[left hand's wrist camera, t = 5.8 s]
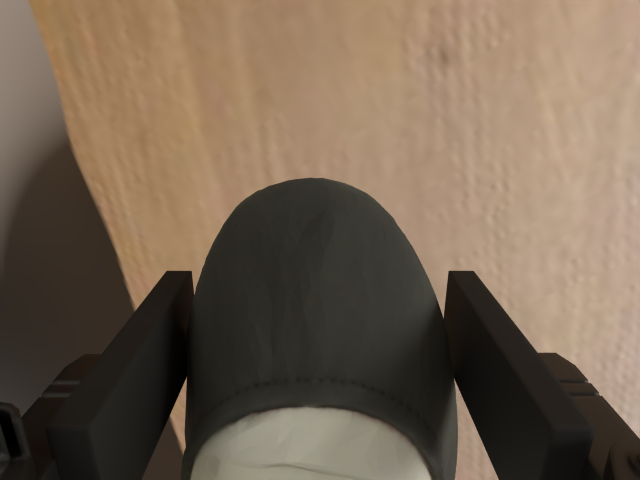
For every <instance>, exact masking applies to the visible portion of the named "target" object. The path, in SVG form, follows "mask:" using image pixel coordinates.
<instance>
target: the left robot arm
mask: <svg viewBox="0 0 640 480" xmlns="http://www.w3.org/2000/svg"><path fill="white" fill-rule="evenodd" d="M193 297H194V289H193V280H192V271H166V273H165V274H164V275H163V276H162V278H161V279H160V280H159V282H158V283H157V284H156V285H155V287H154V288H153V289H152V291H151V292H150V293H149V294H148V296H147V297H146V298H145V300H144V301H143V302H142V303H141V305H140V306H139V307H138V308H137V310H136V311H135V312H134V314H133V315H132V316H131V317H130V319H129V320H128V321H127V323H126V324H125V325H124V326H123V328H122V329H121V330H120V332H119V333H118V334H117V335H116V337H115V338H114V339H113V341H112V342H111V343H110V344H109V346H108V347H107V348H106V349H105V351H104V352H103V353H102V354H85V355H83V356H82V357H80V358H79V359H77V360H75V361H74V362H72V363H71V364H69V365H68V366H66V367H65V368H64V369H63V370H62V372H61V373H60V374H59V375H58V376H57V377H56V378H55V380H54V381H53V384H52V385H49V386H48V388H47V389H46V390H45V391H44V392H43V393H42V397H39V398H38V399H37V400H36V401H35V403H34V404H33V405H32V406H31V407H30V408H29V409H28V411H27V412H26V413H25V414H24V415H23V416H22V417H21V415H20V411H19V409H18V408H17V407H15V406H14V405H13V404H10V403H3V402H0V480H141V479H142V477H143V474H144V472H145V470H146V468H147V466H148V463H149V461H150V459H151V456H152V454H153V452H154V450H155V447H156V445H157V443H158V441H159V438H160V436H161V434H162V431H163V429H164V427H165V425H166V423H167V420H168V418H169V416H170V413H171V411H172V409H173V407H174V404H175V402H176V400H177V398H178V395H179V393H180V391H181V389H182V386H183V384H184V382H185V379H186V377H187V328H188V323H189V316H190V311H191V307H192V304H193ZM444 323H445V327H446V331H447V336H448V343H449V351H450V357H451V363H452V370H453V376H454V379H455V381H456V383H457V386H458V388H459V390H460V392H461V395H462V397H463V399H464V401H465V404H466V406H467V408H468V410H469V413H470V415H471V417H472V420H473V422H474V424H475V426H476V429H477V431H478V433H479V435H480V438H481V440H482V442H483V444H484V447H485V449H486V451H487V453H488V456H489V458H490V460H491V463H492V465H493V467H494V469H495V472H496V474H497V476H498V478H499V480H640V439H639V438H638V437H637V435H636V434H635V433H634V432H633V431H632V430H631V429H630V427H629V426H628V425H627V424H626V423H625V422H624V421H623V419H622V418H621V417H620V416H619V415H618V414H617V413H616V411H615V410H614V409H613V408H612V407H611V406H610V405H609V403H608V402H607V401H606V400H605V399H604V398H603V397H602V396H599V392H598V391H597V390H596V389H595V387H594V386H593V385H592V384H591V383H588V380H587V378H586V377H585V376H584V375H583V374H582V373H581V372H580V370H579V369H578V368H577V367H576V366H575V365H574V364H572V363H571V362H569V361H568V360H566V359H564V358H563V357H561V356H560V355H558V354H557V353H537V352H536V350H535V349H534V348H533V346H532V345H531V344H530V343H529V341H528V340H527V339H526V337H525V336H524V335H523V334H522V332H521V331H520V330H519V329H518V327H517V326H516V325H515V323H514V322H513V321H512V320H511V318H510V317H509V316H508V314H507V313H506V312H505V311H504V309H503V308H502V307H501V305H500V304H499V303H498V302H497V300H496V299H495V298H494V297H493V295H492V294H491V293H490V291H489V290H488V289H487V288H486V286H485V285H484V284H483V282H482V281H481V280H480V279H479V277H478V276H477V275H476V273H475V272H474V271H449V273H448V283H447V292H446V302H445V311H444Z"/></svg>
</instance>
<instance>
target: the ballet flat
mask: <svg viewBox="0 0 640 480" xmlns="http://www.w3.org/2000/svg"><path fill="white" fill-rule="evenodd" d="M185 442H186V449H185V451H184V456H183V461H182V471H181V480H454V479H455V472H456V463H457V445H458V424H457V405H456V392H455V383H454V376H453V370H452V363H451V357H450V351H449V343H448V336H447V331H446V327H445V323H444V319H443V316H442V313H441V310H440V307H439V304H438V301H437V298H436V295H435V293H434V290H433V288H432V285H431V283H430V281H429V278H428V276H427V274H426V272H425V270H424V268H423V266H422V264H421V262H420V260H419V258H418V256H417V254H416V252H415V251H414V249H413V247H412V245H411V244H410V242H409V241H408V239H407V238H406V236H405V234H404V233H403V232H402V231H401V229H400V228H399V227H398V225H397V224H396V222H395V220H394V218H393V217H392V216H391V215H390V214H389V213H388V212H387V211H386V210H385V209H384V208H383V207H382V206H381V205H380V204H379V203H378V202H377V201H376V200H375V199H374V198H372V197H371V196H370V195H368V194H367V193H365V192H363V191H361V190H359V189H357V188H355V187H353V186H350V185H348V184H345V183H342V182H338V181H333V180H329V179H324V178H304V179H295V180H288V181H285V182H282V183H278V184H275V185H271V186H268V187H266V188H264V189H262V190H259V191H257V192H255V193H254V194H252V195H251V196H249V197H248V198H246V199H245V200H244V201H242V202H241V203H240V204H239V205H238V206H237V207H236V208H235V210H234V211H233V212H232V214H231V215H230V216H229V218H228V219H227V220H226V222H225V223H224V224H223V226H222V228H221V230H220V232H219V234H218V235H217V237H216V239H215V241H214V242H213V244H212V247H211V249H210V251H209V253H208V255H207V257H206V261H205V264H204V266H203V268H202V272H201V275H200V278H199V281H198V284H197V286H196V291H195V295H194V297H193V304H192V307H191V311H190V316H189V323H188V328H187V392H186V416H185Z"/></svg>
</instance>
